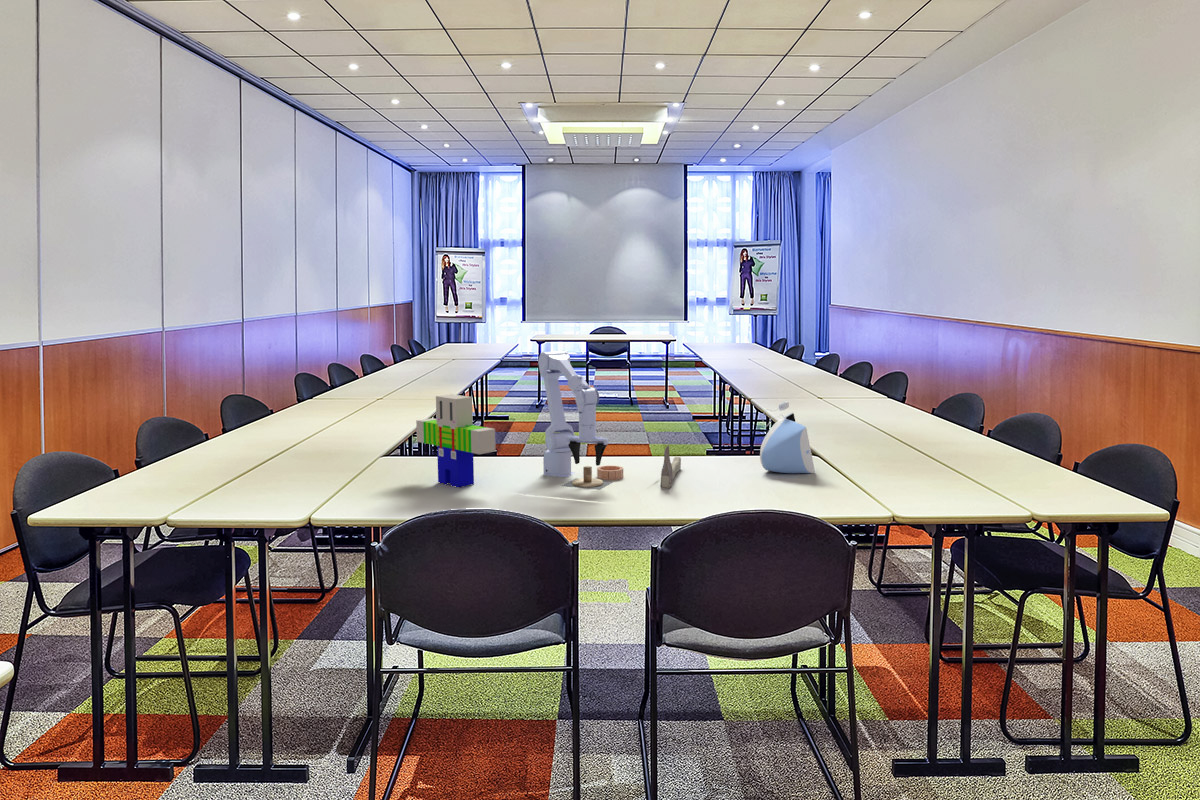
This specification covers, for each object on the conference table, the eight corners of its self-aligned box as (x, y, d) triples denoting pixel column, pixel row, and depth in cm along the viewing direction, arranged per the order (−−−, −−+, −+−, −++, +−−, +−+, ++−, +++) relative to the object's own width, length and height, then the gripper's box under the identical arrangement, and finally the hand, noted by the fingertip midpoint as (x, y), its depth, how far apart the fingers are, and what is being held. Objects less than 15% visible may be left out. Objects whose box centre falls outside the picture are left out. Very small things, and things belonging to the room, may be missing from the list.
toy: (418, 477, 317) (415, 393, 313) (433, 474, 322) (431, 391, 318) (480, 493, 294) (478, 402, 290) (496, 489, 299) (494, 400, 295)
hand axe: (669, 490, 298) (669, 449, 296) (659, 490, 298) (659, 448, 297) (682, 472, 332) (682, 435, 331) (673, 471, 333) (673, 434, 331)
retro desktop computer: (789, 397, 336) (823, 402, 322) (800, 454, 342) (834, 461, 328) (740, 423, 323) (773, 429, 309) (753, 481, 330) (786, 490, 316)
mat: (561, 487, 302) (561, 485, 302) (575, 480, 313) (575, 478, 313) (600, 491, 297) (600, 489, 297) (613, 483, 308) (613, 481, 307)
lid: (567, 485, 302) (567, 468, 301) (579, 479, 311) (579, 462, 311) (595, 488, 298) (595, 471, 297) (607, 481, 307) (607, 465, 307)
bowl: (593, 479, 313) (593, 469, 313) (603, 474, 321) (603, 464, 321) (617, 482, 310) (617, 471, 309) (626, 476, 318) (626, 466, 317)
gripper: (562, 425, 301) (563, 464, 303) (602, 427, 295) (603, 468, 297) (571, 421, 307) (571, 461, 309) (610, 424, 302) (611, 464, 304)
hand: (587, 464), depth 304 cm, fingers open, 7 cm apart
